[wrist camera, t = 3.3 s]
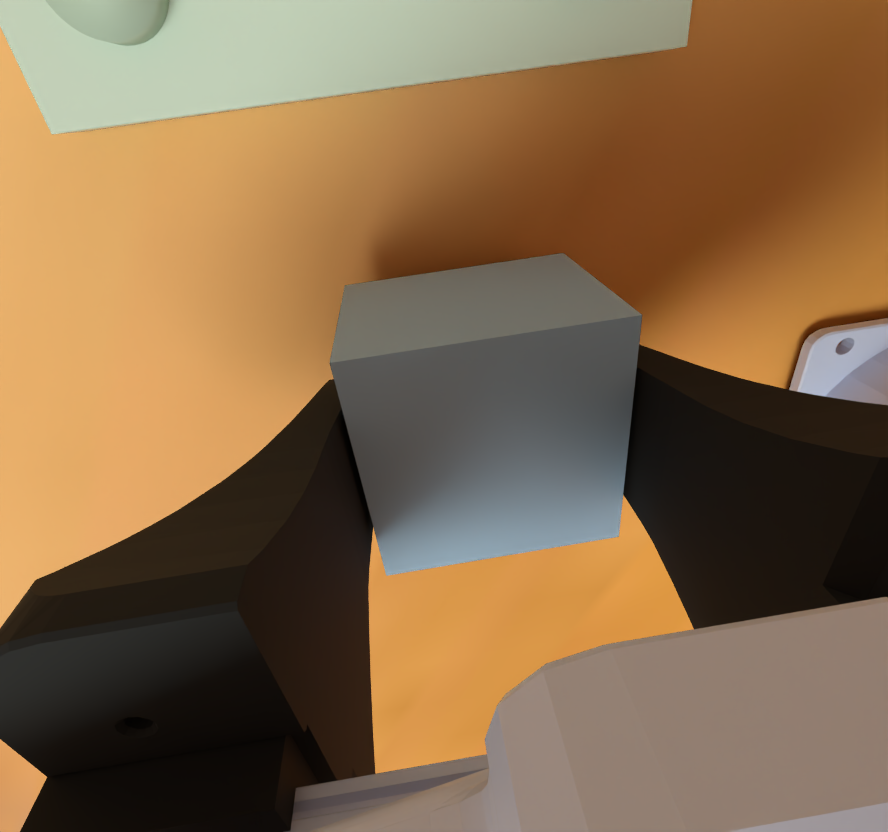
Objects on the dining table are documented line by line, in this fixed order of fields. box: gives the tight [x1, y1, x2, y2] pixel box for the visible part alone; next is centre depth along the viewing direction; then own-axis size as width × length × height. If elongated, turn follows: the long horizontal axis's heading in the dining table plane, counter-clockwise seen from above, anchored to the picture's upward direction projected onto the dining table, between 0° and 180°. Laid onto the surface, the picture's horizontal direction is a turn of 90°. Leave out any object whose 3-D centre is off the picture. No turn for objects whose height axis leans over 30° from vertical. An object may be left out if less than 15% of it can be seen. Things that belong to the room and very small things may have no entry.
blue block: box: [330, 253, 642, 575], centre depth 11 cm, size 5×5×4 cm
